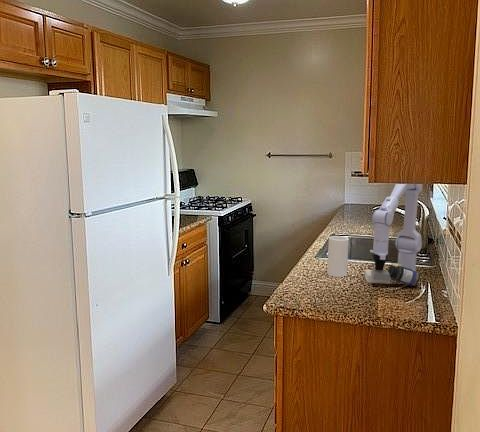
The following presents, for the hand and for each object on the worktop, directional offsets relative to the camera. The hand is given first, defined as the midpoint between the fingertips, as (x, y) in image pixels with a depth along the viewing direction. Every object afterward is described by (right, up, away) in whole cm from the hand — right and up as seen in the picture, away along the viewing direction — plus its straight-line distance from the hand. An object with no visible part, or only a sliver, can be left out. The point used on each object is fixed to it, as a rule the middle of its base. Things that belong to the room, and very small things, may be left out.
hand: (378, 273), depth 191 cm
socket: (0, -3, +4) cm, 5 cm away
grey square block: (-1, -1, -4) cm, 4 cm away
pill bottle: (+14, -2, -4) cm, 15 cm away
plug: (+9, -3, +6) cm, 11 cm away
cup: (-15, -2, +11) cm, 19 cm away
